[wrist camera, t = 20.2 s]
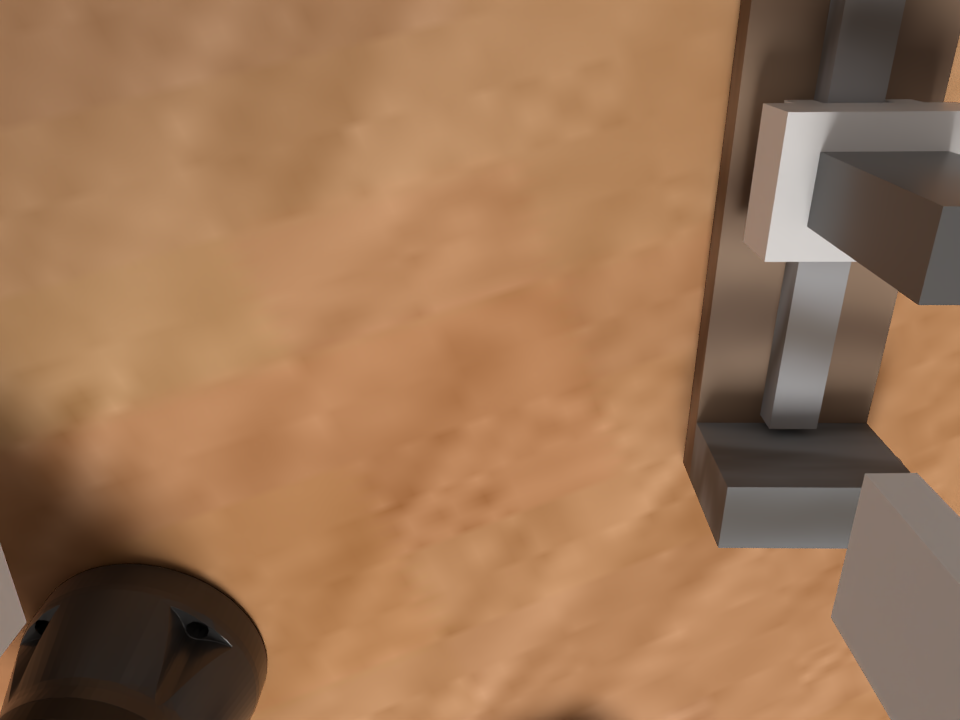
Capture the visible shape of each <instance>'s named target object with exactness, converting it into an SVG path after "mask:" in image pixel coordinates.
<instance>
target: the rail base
mask: <svg viewBox="0 0 960 720" xmlns="http://www.w3.org/2000/svg"><path fill="white" fill-rule="evenodd" d="M959 35H960V0H741V6H740V14H739V22H738V30H737V38H736V46H735V54H734V62H733V70H732V78H731V86H730V94H729V102H728V110H727V118H726V126H725V134H724V142H723V150H722V158H721V166H720V174H719V182H718V190H717V198H716V206H715V214H714V222H713V230H712V238H711V246H710V254H709V262H708V270H707V278H706V286H705V294H704V302H703V310H702V318H701V326H700V334H699V342H698V350H697V358H696V366H695V374H694V382H693V390H692V397H691V405H690V413H689V421H688V429H687V437H686V445H685V453H684V461H683V463H684V466H685V468H686V471H687V473H688V475H689V478H690V480H691V483H692V485H693V488H694V490H695V492H696V495H697V497H698V500H699V502H700V505H701V507H702V509H703V512H704V514H705V517H706V519H707V522H708V524H709V526H710V529H711V531H712V534H713V536H714V539H715V541H716V543H717V546H718V548H847V547H848V543H849V539H850V535H851V530H852V526H853V522H854V518H855V513H856V509H857V505H858V501H859V497H860V492H861V488H862V484H863V480H864V476H865V473H910V472H909V470H908V469H907V468H906V467H905V466H904V465H903V463H902V461H901V460H900V459H899V458H898V457H896V456H895V455H894V454H893V452H892V451H891V450H890V449H889V448H888V447H887V446H886V445H885V443H884V442H883V441H882V440H881V439H880V438H879V437H878V436H877V435H876V433H875V432H874V431H873V430H872V429H871V428H870V427H869V426H868V424H867V418H868V414H869V410H870V406H871V402H872V398H873V393H874V389H875V385H876V381H877V377H878V373H879V368H880V364H881V360H882V356H883V352H884V348H885V343H886V339H887V335H888V331H889V327H890V323H891V318H892V314H893V310H894V306H895V302H896V298H897V293H898V290H896V289H895V288H894V287H892V286H891V285H889V284H888V283H886V282H885V281H884V280H882V279H881V278H879V277H878V276H876V275H875V274H874V273H872V272H871V271H869V270H868V269H866V268H865V267H864V266H862V265H861V264H859V263H858V262H764V261H763V260H762V259H761V258H760V257H759V256H758V255H757V254H756V253H755V252H754V251H753V250H751V249H750V248H749V247H748V246H747V245H746V244H745V243H744V242H743V240H744V233H745V226H746V220H747V213H748V206H749V199H750V192H751V185H752V178H753V171H754V164H755V157H756V150H757V143H758V136H759V129H760V122H761V115H762V108H763V103H784V100H815V101H818V102H822V103H885V99H912V100H916V101H921V102H944V98H945V93H946V89H947V85H948V81H949V77H950V73H951V68H952V64H953V60H954V56H955V52H956V48H957V43H958V39H959Z"/></svg>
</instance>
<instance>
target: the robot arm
mask: <svg viewBox="0 0 960 720" xmlns="http://www.w3.org/2000/svg"><path fill="white" fill-rule="evenodd" d="M831 618H832V620H833V622H834V623H835V625H836V627H837V629H838V630H839V632H840V634H841V635H842V637H843V639H844V641H845V642H846V644H847V646H848V647H849V649H850V651H851V652H852V654H853V656H854V658H855V659H856V661H857V663H858V664H859V666H860V668H861V669H862V671H863V673H864V675H865V676H866V678H867V680H868V681H869V683H870V685H871V686H872V688H873V690H874V692H875V693H876V695H877V697H878V698H879V700H880V702H881V703H882V705H883V707H884V709H885V710H886V712H887V714H888V715H889V717H890V719H891V720H960V517H959V516H958V515H957V514H956V513H955V512H954V511H953V510H952V509H951V508H950V507H949V506H948V505H947V504H946V503H945V502H944V501H943V500H942V498H941V497H940V496H939V495H938V494H937V493H936V492H935V491H934V490H933V489H932V488H931V487H930V486H929V485H928V484H927V483H926V482H925V481H924V480H923V479H922V478H921V477H920V476H919V475H918V474H917V473H865V476H864V480H863V484H862V488H861V492H860V497H859V501H858V505H857V509H856V513H855V518H854V522H853V526H852V530H851V535H850V539H849V543H848V547H847V551H846V556H845V560H844V564H843V568H842V573H841V577H840V581H839V585H838V589H837V594H836V598H835V602H834V606H833V610H832V615H831ZM25 624H26V619H25V616H24V613H23V610H22V607H21V604H20V601H19V598H18V595H17V592H16V589H15V586H14V583H13V580H12V577H11V574H10V571H9V568H8V565H7V562H6V559H5V556H4V553H3V550H2V547H1V544H0V657H1V656H2V654H3V653H4V652H5V650H6V649H7V648H8V646H9V645H10V644H11V642H12V641H13V640H14V638H15V637H16V636H17V634H18V633H19V632H20V630H21V629H22V628H23V626H24V625H25ZM266 674H267V658H266V652H265V648H264V645H263V642H262V640H261V637H260V635H259V633H258V631H257V629H256V628H255V626H254V625H253V623H252V622H251V621H250V619H249V618H248V617H247V615H246V614H245V613H244V612H243V611H242V610H241V609H240V608H239V607H238V606H237V605H236V604H235V603H234V602H233V601H231V600H230V599H229V598H228V597H226V596H225V595H224V594H222V593H221V592H219V591H218V590H216V589H215V588H213V587H211V586H210V585H208V584H206V583H204V582H202V581H200V580H198V579H196V578H194V577H191V576H189V575H186V574H183V573H180V572H177V571H174V570H170V569H166V568H162V567H157V566H150V565H141V564H118V565H109V566H103V567H98V568H94V569H91V570H88V571H85V572H82V573H80V574H78V575H76V576H74V577H72V578H70V579H68V580H67V581H65V582H64V583H63V584H61V585H60V586H59V587H58V588H57V589H56V590H55V591H54V592H53V593H52V594H51V595H50V596H49V598H48V599H47V600H46V602H45V603H44V604H43V606H42V607H41V608H40V609H39V611H38V612H37V613H36V615H35V616H34V617H33V619H32V620H31V622H30V624H29V625H28V627H27V629H26V631H25V633H24V635H23V638H22V641H21V644H20V648H19V651H18V655H17V658H16V661H15V665H14V668H13V672H12V675H11V679H10V682H9V686H8V689H7V692H6V696H5V699H4V703H3V706H2V710H1V713H0V720H250V718H251V717H252V715H253V713H254V711H255V708H256V706H257V703H258V700H259V697H260V694H261V691H262V688H263V686H264V682H265V679H266Z"/></svg>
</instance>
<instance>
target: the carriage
mask: <svg viewBox="0 0 960 720" xmlns="http://www.w3.org/2000/svg"><path fill="white" fill-rule="evenodd" d="M743 242H744V243H745V244H746V245H747V246H748V247H749V248H750V249H751V250H753V251H754V252H755V253H756V254H757V255H758V256H759V257H760V258H761V259H762V260H763V261H764V262H858V263H859V264H861V265H862V266H864V267H865V268H866V269H868V270H869V271H871V272H872V273H874V274H875V275H876V276H878V277H879V278H881V279H882V280H884V281H885V282H886V283H888V284H889V285H891V286H892V287H894V288H895V289H896V290H898V291H899V292H901V293H902V294H903V295H905V296H906V297H908V298H909V299H911V300H912V301H913V302H915V303H916V304H918V305H960V103H958V102H921V101H916V100H912V99H885V103H822V102H818V101H815V100H784V103H763V108H762V115H761V122H760V129H759V136H758V143H757V150H756V157H755V164H754V171H753V178H752V185H751V192H750V199H749V206H748V213H747V220H746V226H745V233H744V240H743Z"/></svg>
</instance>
